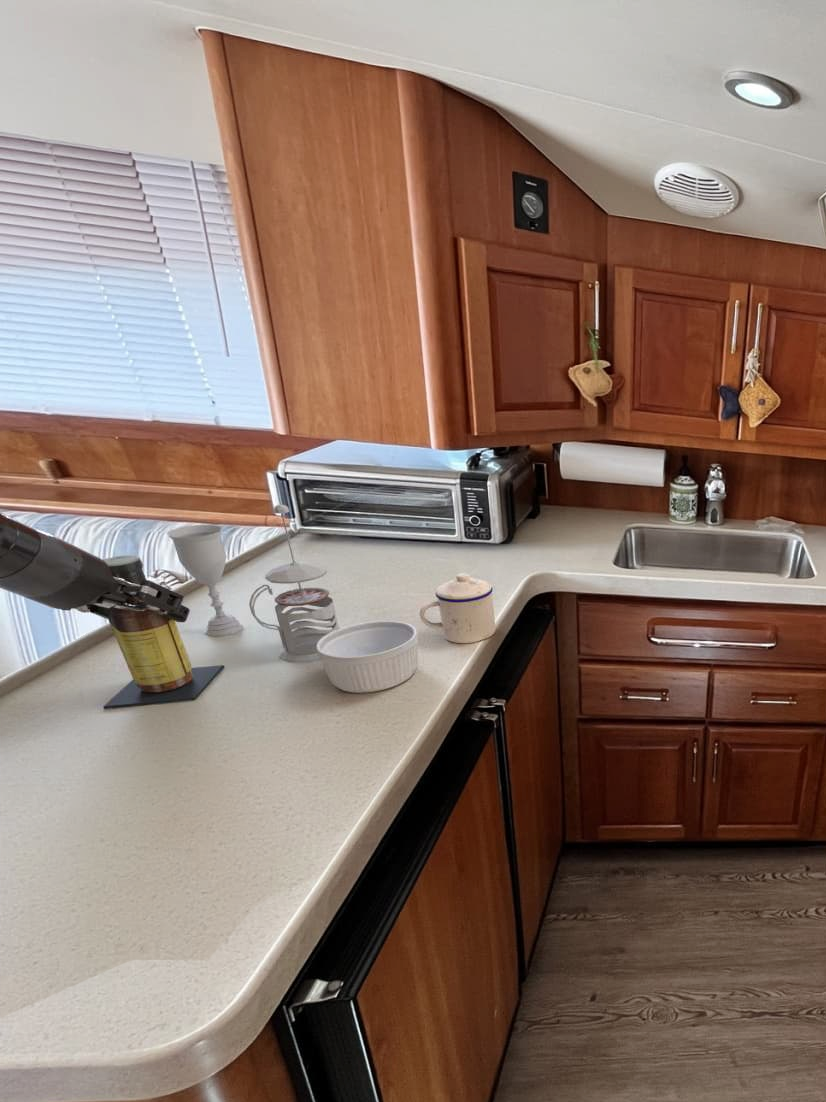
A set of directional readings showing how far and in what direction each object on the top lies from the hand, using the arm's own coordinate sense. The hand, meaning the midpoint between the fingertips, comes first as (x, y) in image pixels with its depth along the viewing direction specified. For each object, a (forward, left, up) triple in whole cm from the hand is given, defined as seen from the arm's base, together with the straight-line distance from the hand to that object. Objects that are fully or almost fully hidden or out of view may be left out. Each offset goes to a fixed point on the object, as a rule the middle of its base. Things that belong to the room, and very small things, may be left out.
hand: (152, 615), depth 91 cm
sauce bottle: (0, -1, -11) cm, 11 cm away
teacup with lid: (+38, +9, -11) cm, 40 cm away
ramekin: (+27, -4, -11) cm, 29 cm away
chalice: (0, +19, -11) cm, 22 cm away
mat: (0, -1, -11) cm, 11 cm away
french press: (+15, +8, -11) cm, 20 cm away
